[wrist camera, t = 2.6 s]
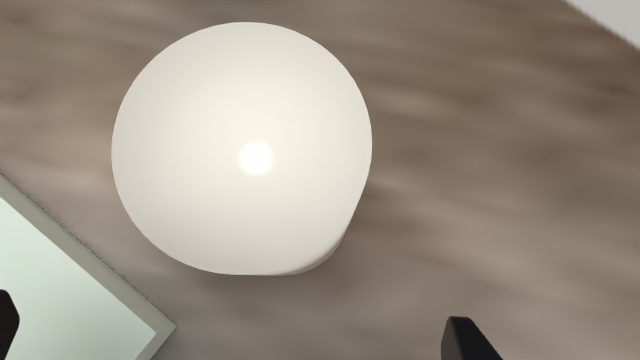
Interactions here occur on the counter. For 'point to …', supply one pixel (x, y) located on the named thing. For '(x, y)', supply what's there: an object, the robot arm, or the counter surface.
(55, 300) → the tray
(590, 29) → the counter surface
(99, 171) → the counter surface
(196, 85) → the canister
